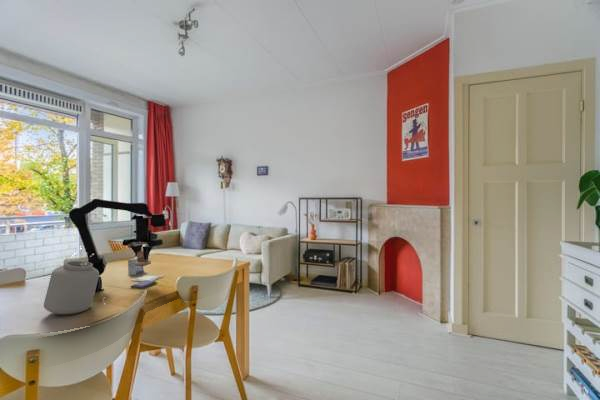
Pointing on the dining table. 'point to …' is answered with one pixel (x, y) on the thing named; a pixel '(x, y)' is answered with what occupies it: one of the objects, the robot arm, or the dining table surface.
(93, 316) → the dining table surface
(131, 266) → the medicine box
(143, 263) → the stamp
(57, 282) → the jar
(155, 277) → the mat
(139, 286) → the ink pad
